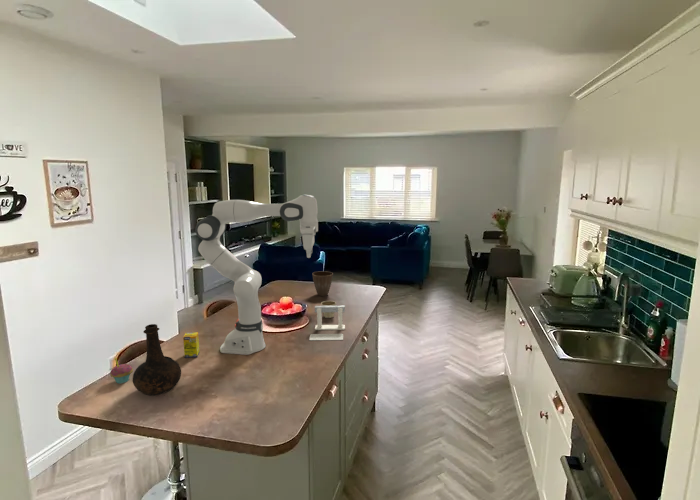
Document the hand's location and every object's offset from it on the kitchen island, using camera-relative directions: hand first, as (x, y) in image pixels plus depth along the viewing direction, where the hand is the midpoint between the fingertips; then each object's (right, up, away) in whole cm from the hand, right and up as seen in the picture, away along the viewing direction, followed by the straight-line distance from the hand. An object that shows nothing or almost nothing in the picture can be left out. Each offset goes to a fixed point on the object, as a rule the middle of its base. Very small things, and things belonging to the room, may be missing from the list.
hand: (309, 255), depth 205 cm
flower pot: (+7, -39, +53) cm, 66 cm away
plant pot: (0, -30, +101) cm, 105 cm away
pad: (+7, -45, +20) cm, 49 cm away
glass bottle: (-59, -55, -34) cm, 88 cm away
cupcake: (-78, -54, -26) cm, 98 cm away
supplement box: (-58, -49, -2) cm, 76 cm away
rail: (+8, -32, +32) cm, 46 cm away
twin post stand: (+8, -42, +34) cm, 55 cm away
